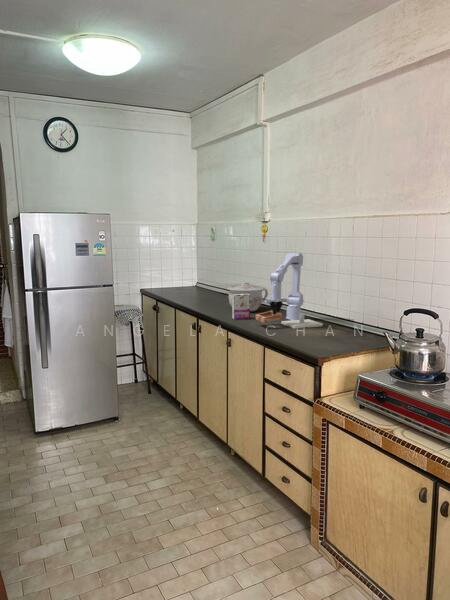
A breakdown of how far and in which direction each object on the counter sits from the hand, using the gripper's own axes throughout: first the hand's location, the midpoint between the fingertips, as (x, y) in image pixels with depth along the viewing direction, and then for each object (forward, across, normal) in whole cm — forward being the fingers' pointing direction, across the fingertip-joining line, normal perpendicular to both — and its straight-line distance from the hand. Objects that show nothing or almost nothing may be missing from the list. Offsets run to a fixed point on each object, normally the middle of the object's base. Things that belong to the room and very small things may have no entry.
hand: (275, 314), depth 279 cm
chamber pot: (+8, +6, +56) cm, 57 cm away
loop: (+3, -5, 0) cm, 5 cm away
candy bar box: (+8, -10, +29) cm, 32 cm away
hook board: (+7, +17, -3) cm, 18 cm away
